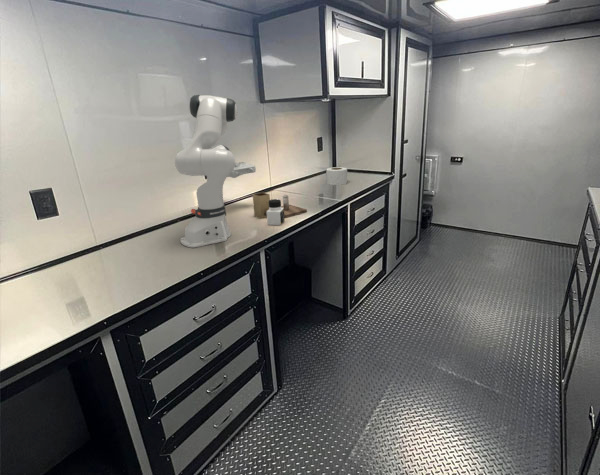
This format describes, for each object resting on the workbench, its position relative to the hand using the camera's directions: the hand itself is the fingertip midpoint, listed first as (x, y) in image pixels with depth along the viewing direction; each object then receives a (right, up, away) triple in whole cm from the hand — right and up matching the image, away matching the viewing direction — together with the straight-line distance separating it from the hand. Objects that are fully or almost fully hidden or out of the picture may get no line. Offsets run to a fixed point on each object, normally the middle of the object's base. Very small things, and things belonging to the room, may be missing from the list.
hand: (245, 172), depth 187 cm
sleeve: (+10, -24, -2) cm, 26 cm away
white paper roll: (+57, +5, +71) cm, 91 cm away
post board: (+22, -22, +2) cm, 31 cm away
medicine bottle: (+18, -28, -14) cm, 36 cm away
